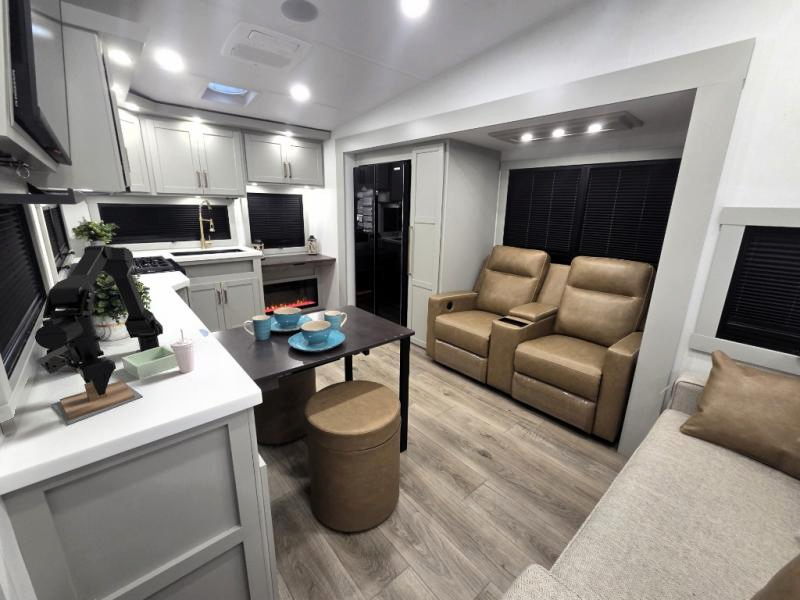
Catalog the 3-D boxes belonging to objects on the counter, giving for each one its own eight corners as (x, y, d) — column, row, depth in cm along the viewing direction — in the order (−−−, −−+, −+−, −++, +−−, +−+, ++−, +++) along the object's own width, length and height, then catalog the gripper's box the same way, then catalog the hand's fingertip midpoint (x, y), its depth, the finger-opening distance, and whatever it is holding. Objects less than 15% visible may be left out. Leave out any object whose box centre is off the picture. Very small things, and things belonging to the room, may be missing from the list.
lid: (60, 401, 89) (55, 385, 88) (121, 382, 99) (118, 367, 98) (69, 420, 81) (64, 402, 80) (135, 397, 91) (131, 381, 90)
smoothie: (188, 376, 104) (180, 333, 100) (170, 374, 105) (162, 331, 101) (203, 366, 110) (196, 326, 106) (186, 365, 111) (179, 324, 107)
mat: (52, 405, 88) (51, 404, 88) (122, 382, 100) (121, 380, 100) (68, 425, 80) (68, 423, 80) (143, 397, 92) (142, 395, 92)
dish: (124, 370, 108) (121, 357, 107) (166, 357, 118) (163, 345, 117) (139, 380, 102) (136, 367, 100) (182, 365, 111) (180, 353, 110)
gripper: (26, 336, 84) (44, 392, 88) (45, 353, 74) (64, 416, 78) (85, 324, 93) (98, 375, 97) (109, 338, 83) (123, 395, 87)
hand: (95, 389), depth 89 cm, fingers open, 9 cm apart
